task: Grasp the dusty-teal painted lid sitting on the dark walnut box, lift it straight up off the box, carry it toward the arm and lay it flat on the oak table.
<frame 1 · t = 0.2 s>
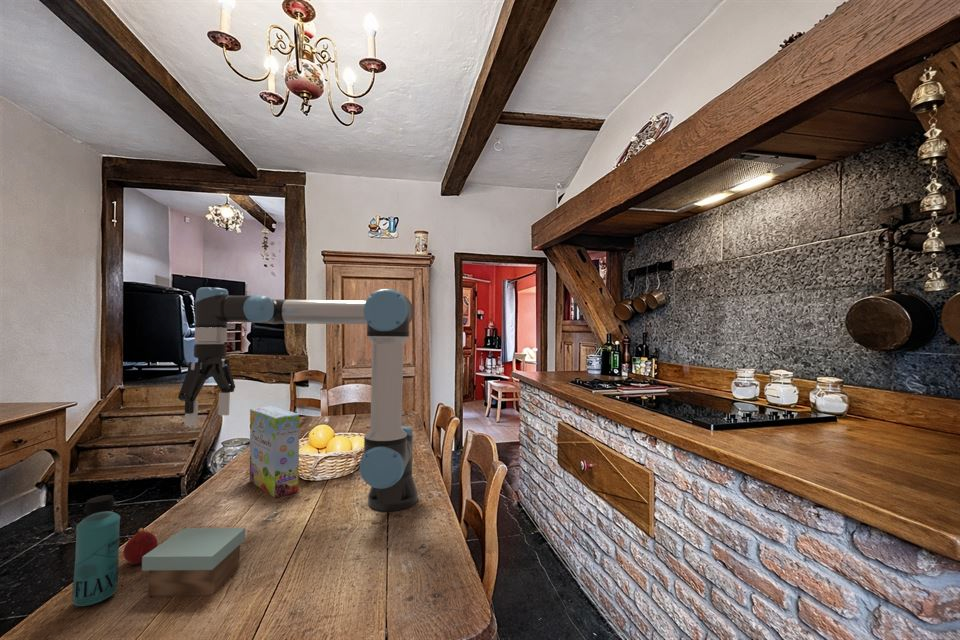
hand: (208, 420, 111), 28 cm above the table, tool pointing down, fingers open, 13 cm apart
block a: (209, 580, 84), point 1 cm above the table, touching box
block b: (182, 580, 83), point 1 cm above the table, touching box
beverage bottle: (95, 604, 77), on the table
box: (196, 583, 83), on the table
snack box: (272, 487, 136), on the table
lid: (197, 553, 84), point 6 cm above the table, touching box
onion: (140, 565, 90), on the table
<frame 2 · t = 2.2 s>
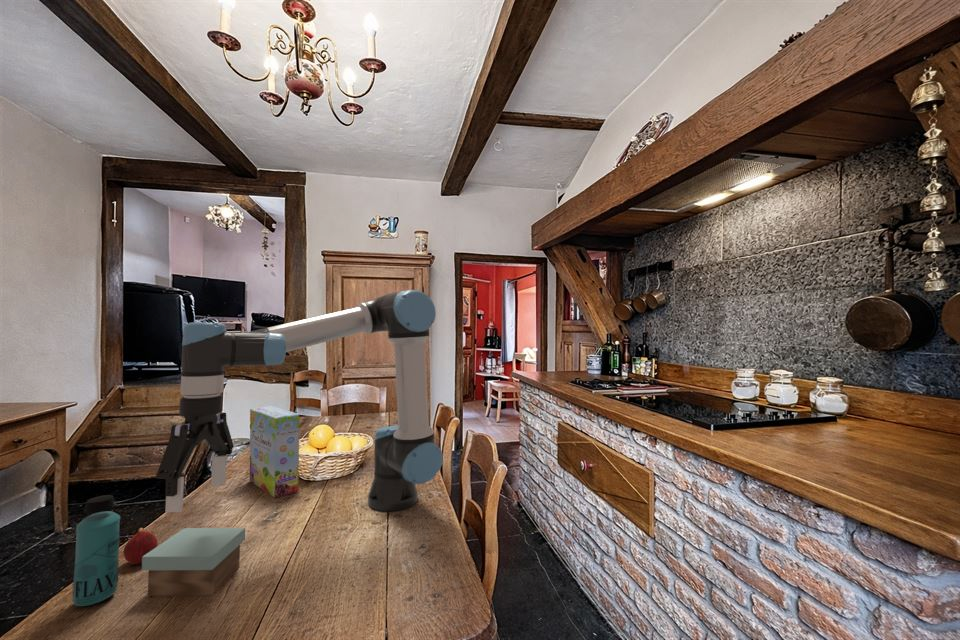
hand: (197, 497, 84), 18 cm above the table, tool pointing down, fingers open, 13 cm apart
nothing on the table moved.
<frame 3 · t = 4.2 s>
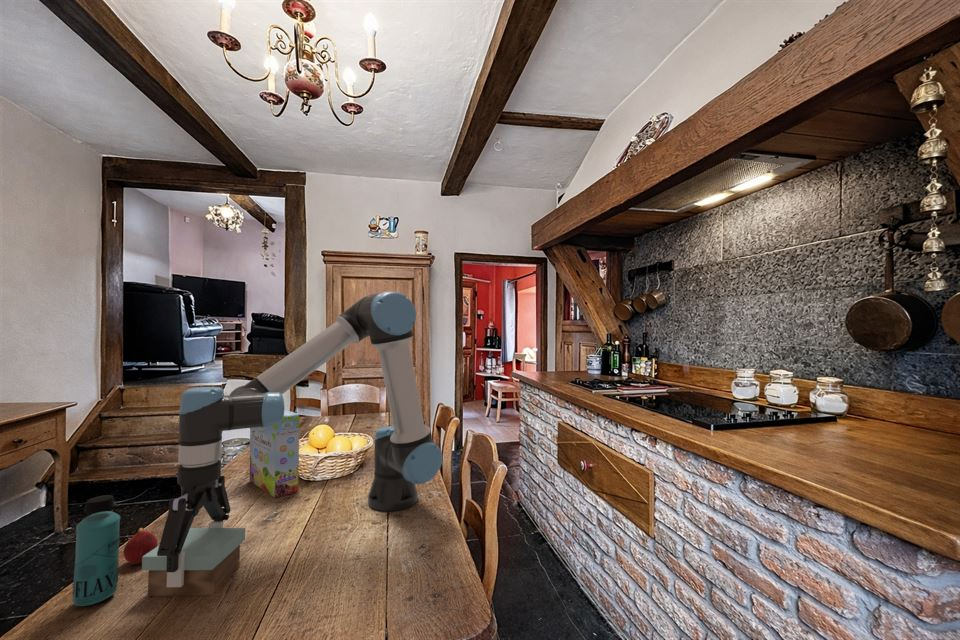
hand: (196, 567, 84), 3 cm above the table, tool pointing down, fingers closed on lid, 11 cm apart
lid: (197, 553, 84), point 6 cm above the table, touching box, gripper
everything else where it was.
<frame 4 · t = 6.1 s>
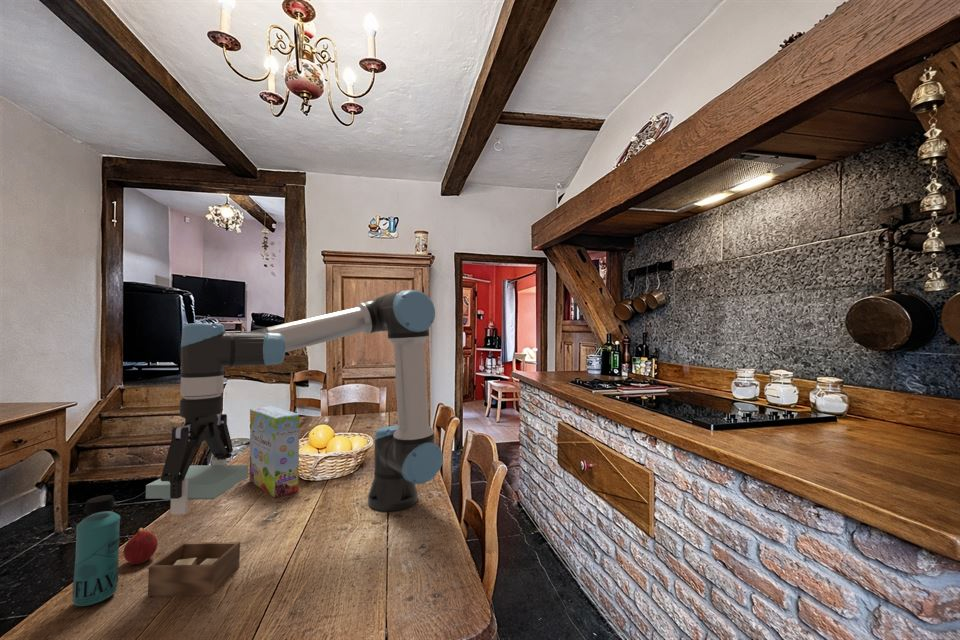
hand: (200, 500, 84), 17 cm above the table, tool pointing down, fingers closed on lid, 11 cm apart
lid: (200, 486, 84), point 20 cm above the table, touching gripper
everything else where it was.
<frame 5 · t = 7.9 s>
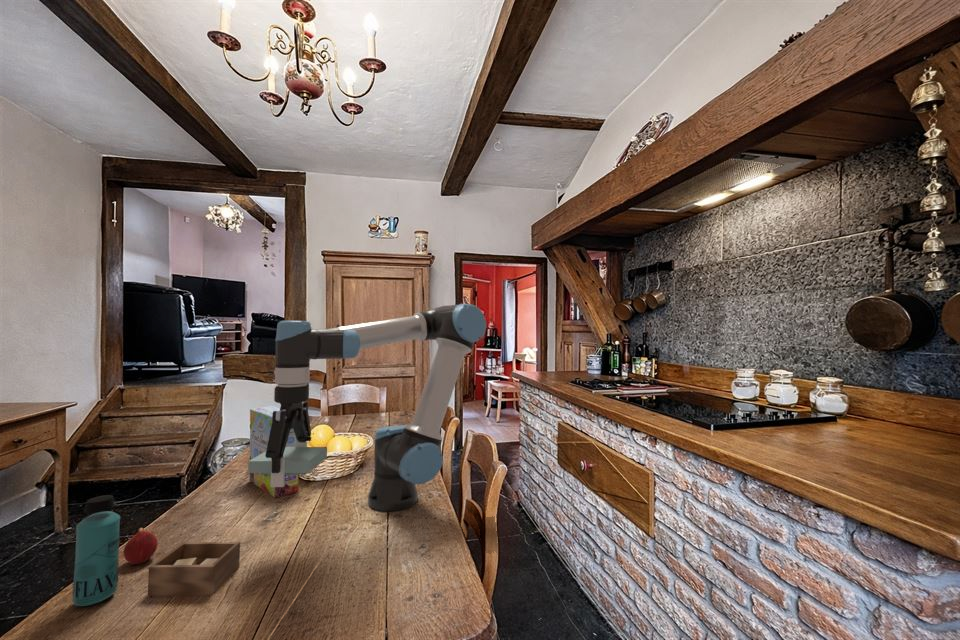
hand: (289, 476, 95), 18 cm above the table, tool pointing down, fingers closed on lid, 11 cm apart
lid: (289, 464, 95), point 21 cm above the table, touching gripper
everything else where it was.
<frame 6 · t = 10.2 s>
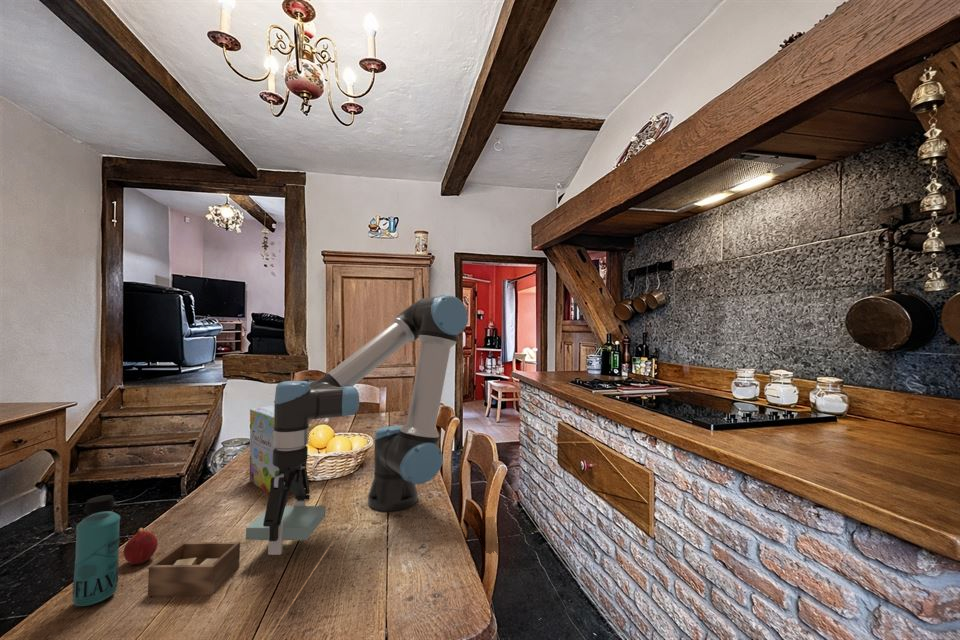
hand: (287, 539, 95), 3 cm above the table, tool pointing down, fingers closed on lid, 11 cm apart
lid: (287, 527, 95), point 6 cm above the table, touching gripper
everything else where it was.
when the fingers open (1 cm above the table, at t = 11.9 s): lid drops 3 cm, point 1 cm above the table.
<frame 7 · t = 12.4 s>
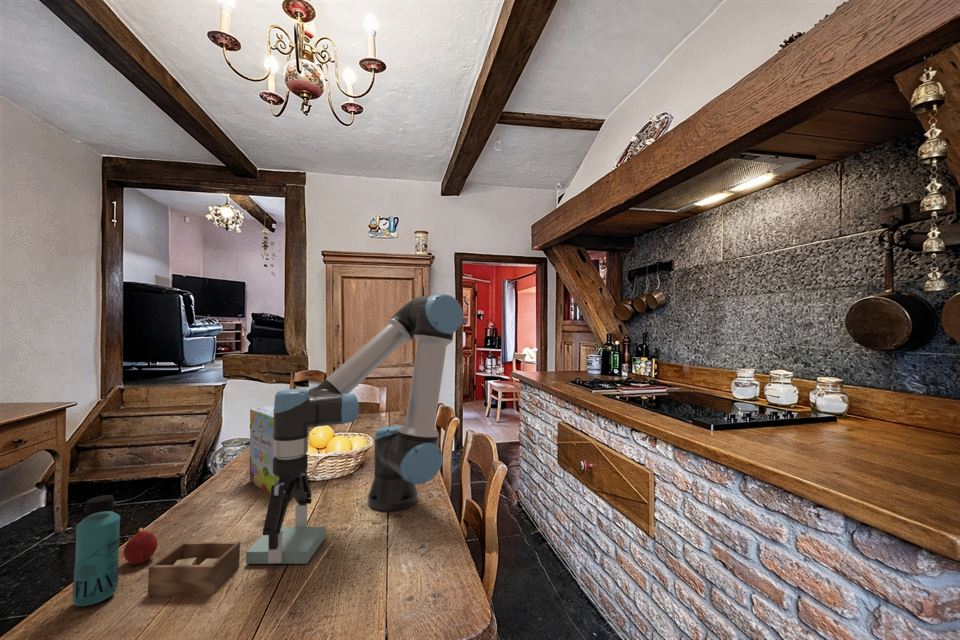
hand: (288, 545, 95), 2 cm above the table, tool pointing down, fingers open, 13 cm apart
lid: (288, 549, 95), point 1 cm above the table
everything else where it was.
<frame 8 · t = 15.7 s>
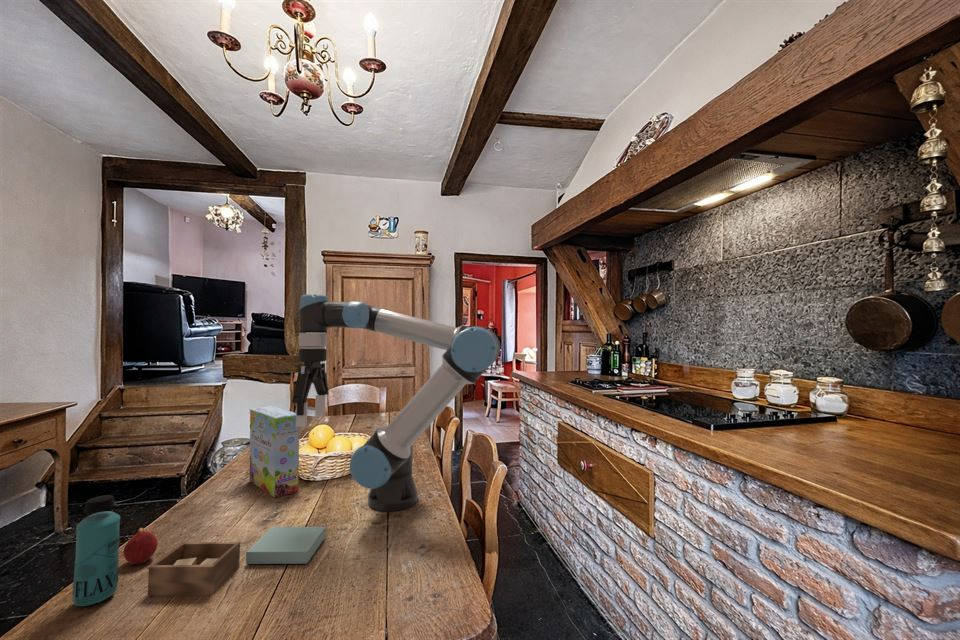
hand: (311, 421, 116), 27 cm above the table, tool pointing down, fingers open, 13 cm apart
nothing on the table moved.
at the end: lid inside the target area (0.0 cm from its centre), point 1.0 cm above the table; lid tilted 0°; lid touching table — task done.
